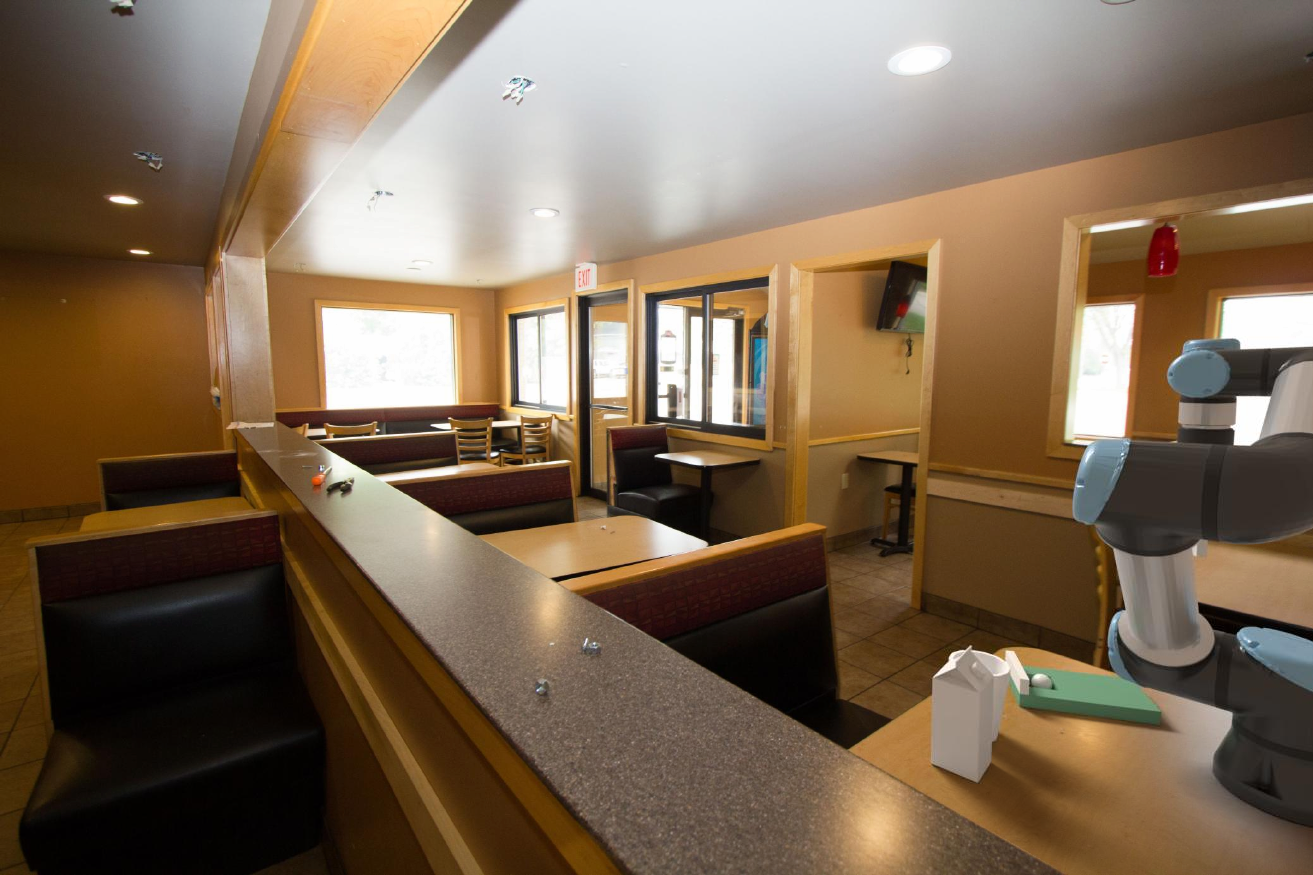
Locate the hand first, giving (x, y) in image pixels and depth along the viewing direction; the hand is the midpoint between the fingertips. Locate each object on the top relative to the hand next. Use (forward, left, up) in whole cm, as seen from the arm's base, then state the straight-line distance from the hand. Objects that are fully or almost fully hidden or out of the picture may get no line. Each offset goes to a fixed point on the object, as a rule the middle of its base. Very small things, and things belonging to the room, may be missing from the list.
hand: (1197, 554), depth 108 cm
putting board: (-3, +18, -29) cm, 35 cm away
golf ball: (-2, +23, -29) cm, 37 cm away
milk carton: (-30, +42, -29) cm, 60 cm away
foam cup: (-20, +38, -29) cm, 52 cm away
